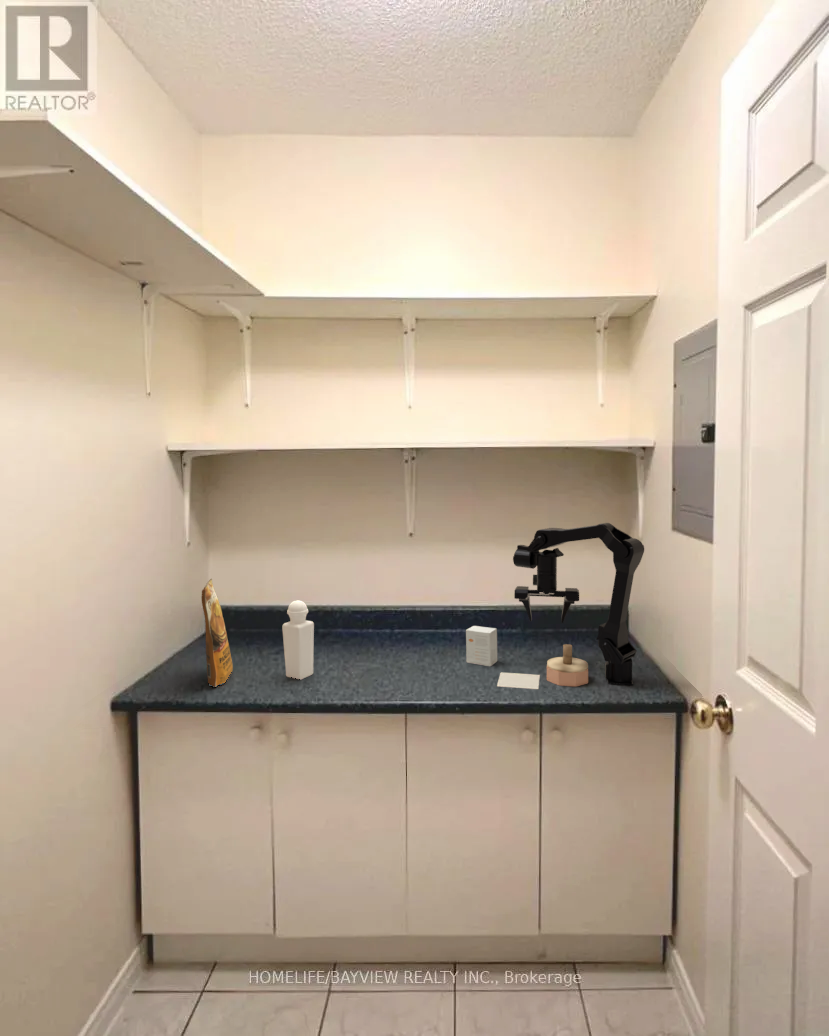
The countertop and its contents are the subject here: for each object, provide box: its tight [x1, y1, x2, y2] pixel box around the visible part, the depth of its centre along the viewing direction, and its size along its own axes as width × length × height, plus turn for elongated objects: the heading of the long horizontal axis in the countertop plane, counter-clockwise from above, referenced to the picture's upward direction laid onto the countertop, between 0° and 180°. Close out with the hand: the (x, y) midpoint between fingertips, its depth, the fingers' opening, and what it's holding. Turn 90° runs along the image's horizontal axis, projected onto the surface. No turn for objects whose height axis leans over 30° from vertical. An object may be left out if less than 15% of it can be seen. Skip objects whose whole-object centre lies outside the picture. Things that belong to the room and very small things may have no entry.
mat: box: [496, 672, 541, 690], centre depth 169 cm, size 11×11×1 cm
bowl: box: [546, 665, 589, 688], centre depth 170 cm, size 11×11×4 cm
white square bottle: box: [281, 599, 315, 681], centre depth 176 cm, size 6×6×22 cm
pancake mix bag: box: [200, 578, 234, 687], centre depth 174 cm, size 7×19×28 cm, turn 5°
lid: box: [546, 643, 589, 673], centre depth 170 cm, size 11×11×6 cm
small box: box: [465, 625, 498, 667], centre depth 185 cm, size 8×6×10 cm
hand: (546, 621), depth 184 cm, fingers open, 9 cm apart
